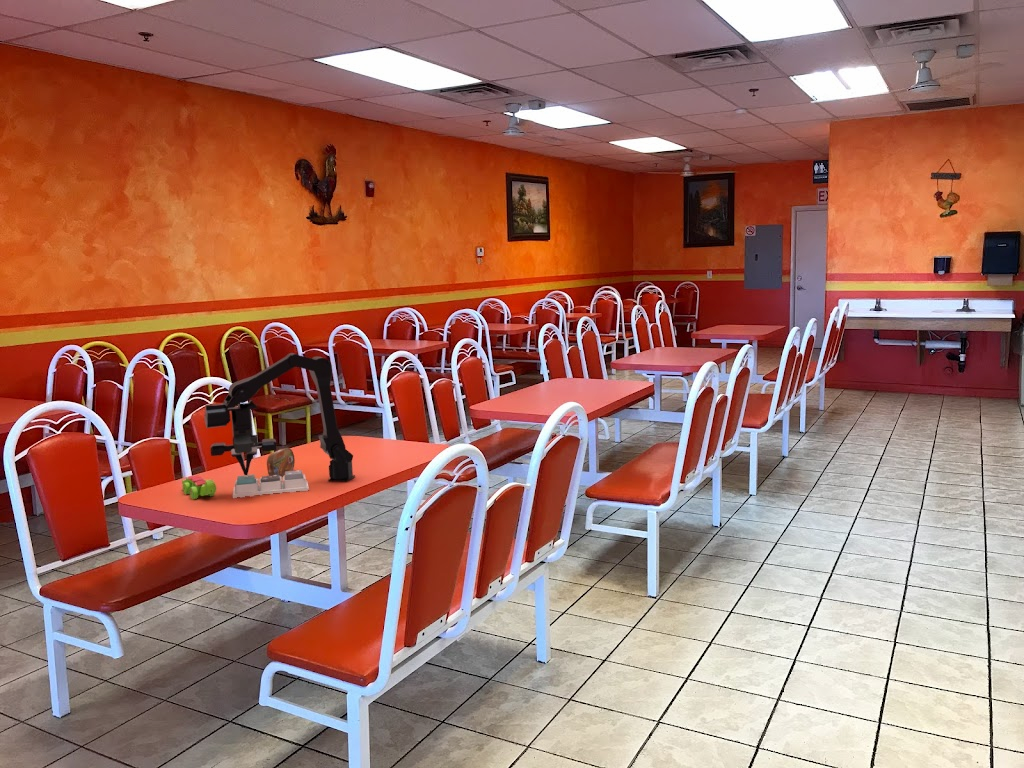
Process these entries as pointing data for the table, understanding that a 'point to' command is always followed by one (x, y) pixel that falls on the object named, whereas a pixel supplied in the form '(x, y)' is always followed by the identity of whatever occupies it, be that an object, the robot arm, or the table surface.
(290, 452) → the brown flat rounded piece
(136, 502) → the table surface
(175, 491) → the table surface
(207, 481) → the toy crocodile
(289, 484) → the keypad
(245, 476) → the key one dot
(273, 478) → the key three dots
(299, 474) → the key two dots
